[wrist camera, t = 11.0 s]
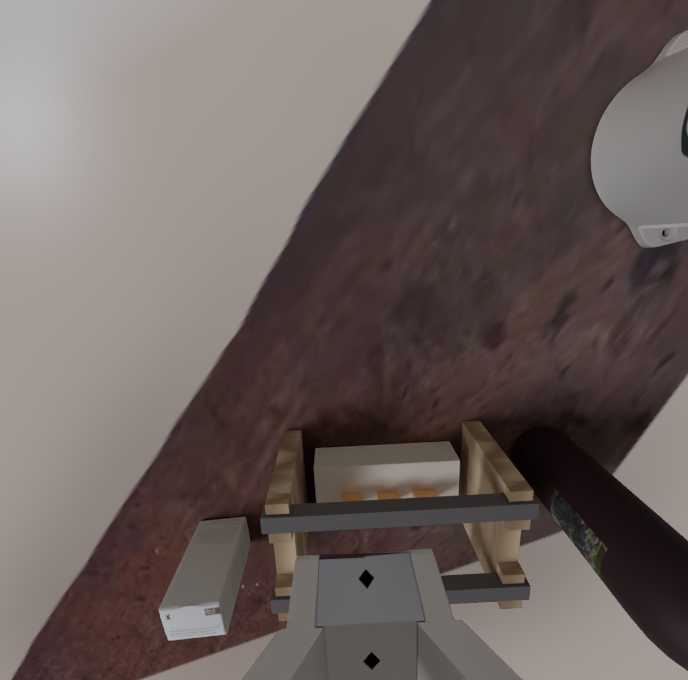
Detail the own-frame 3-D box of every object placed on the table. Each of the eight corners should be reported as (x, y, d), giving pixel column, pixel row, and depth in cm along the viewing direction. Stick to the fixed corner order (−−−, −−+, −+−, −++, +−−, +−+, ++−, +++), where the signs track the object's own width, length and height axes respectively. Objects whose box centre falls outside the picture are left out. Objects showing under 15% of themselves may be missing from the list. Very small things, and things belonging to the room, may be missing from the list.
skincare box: (206, 546, 48) (165, 645, 37) (199, 517, 47) (154, 610, 35) (253, 541, 48) (227, 639, 37) (248, 512, 47) (218, 604, 35)
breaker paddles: (433, 489, 42) (441, 501, 39) (434, 498, 42) (441, 510, 39) (340, 494, 42) (340, 506, 39) (341, 503, 42) (341, 516, 39)
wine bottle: (503, 436, 45) (805, 799, 16) (561, 416, 44) (982, 755, 15) (518, 483, 47) (813, 886, 18) (573, 464, 46) (972, 848, 17)
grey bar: (522, 571, 36) (530, 586, 35) (520, 584, 37) (528, 599, 35) (273, 584, 36) (270, 600, 35) (274, 597, 36) (272, 613, 35)
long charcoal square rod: (530, 491, 34) (539, 503, 32) (528, 506, 34) (537, 519, 33) (263, 505, 34) (259, 518, 32) (265, 520, 34) (261, 534, 33)
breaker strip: (449, 441, 45) (459, 460, 41) (447, 498, 47) (457, 521, 43) (315, 448, 45) (313, 468, 41) (319, 504, 47) (318, 528, 43)
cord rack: (479, 420, 44) (533, 490, 32) (474, 513, 48) (521, 607, 36) (284, 430, 44) (264, 505, 32) (293, 523, 48) (278, 621, 35)
